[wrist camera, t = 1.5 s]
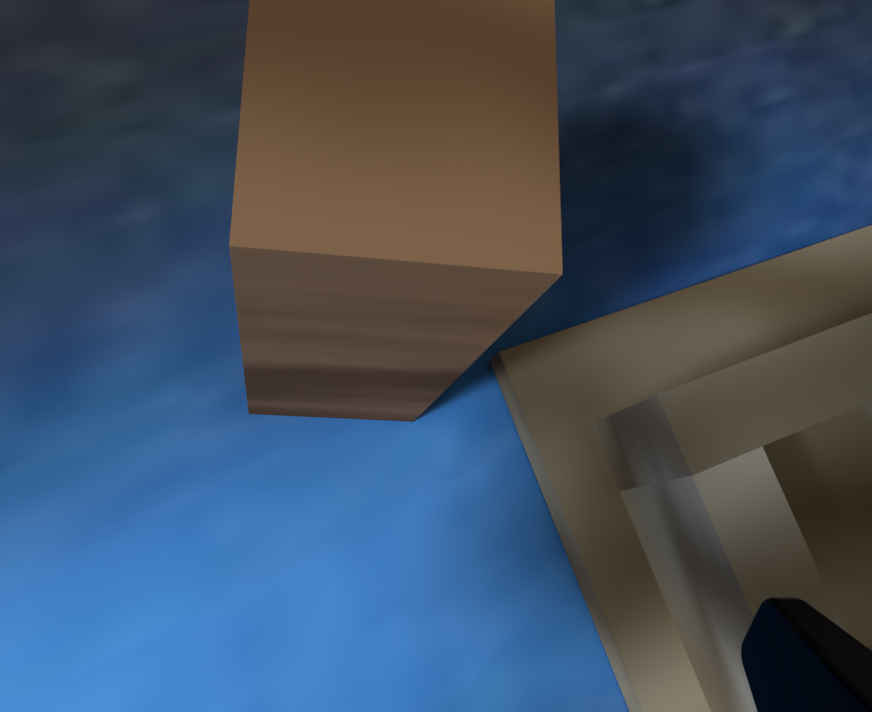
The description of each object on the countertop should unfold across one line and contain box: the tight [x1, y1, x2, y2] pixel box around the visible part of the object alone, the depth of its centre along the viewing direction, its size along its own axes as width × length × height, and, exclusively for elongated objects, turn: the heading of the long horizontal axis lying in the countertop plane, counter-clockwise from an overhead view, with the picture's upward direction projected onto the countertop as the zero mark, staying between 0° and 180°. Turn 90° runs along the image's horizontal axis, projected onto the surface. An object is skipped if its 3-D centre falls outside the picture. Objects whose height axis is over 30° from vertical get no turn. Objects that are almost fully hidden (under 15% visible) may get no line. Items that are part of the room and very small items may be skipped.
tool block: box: [490, 225, 872, 712], centre depth 22 cm, size 16×14×5 cm
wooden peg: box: [229, 0, 563, 421], centre depth 17 cm, size 4×4×12 cm
